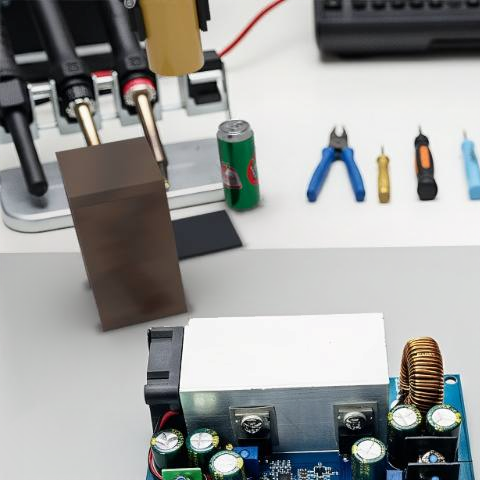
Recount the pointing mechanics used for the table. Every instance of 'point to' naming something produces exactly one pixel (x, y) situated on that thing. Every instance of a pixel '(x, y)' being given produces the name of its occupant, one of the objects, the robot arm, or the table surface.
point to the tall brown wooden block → (124, 231)
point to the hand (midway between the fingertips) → (171, 30)
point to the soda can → (238, 164)
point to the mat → (204, 234)
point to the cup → (172, 36)
